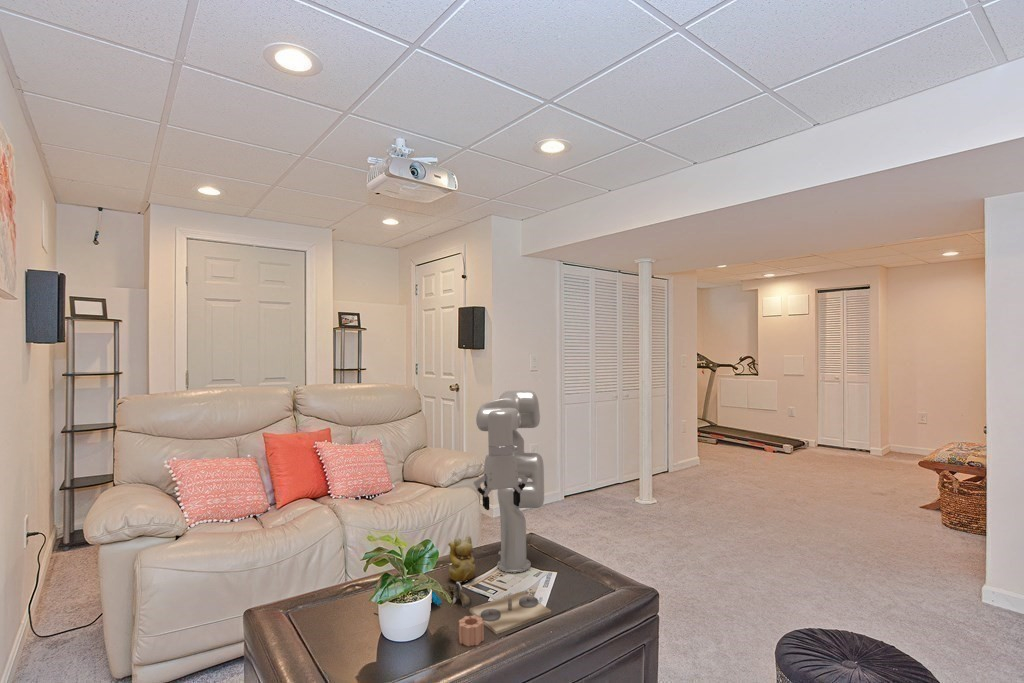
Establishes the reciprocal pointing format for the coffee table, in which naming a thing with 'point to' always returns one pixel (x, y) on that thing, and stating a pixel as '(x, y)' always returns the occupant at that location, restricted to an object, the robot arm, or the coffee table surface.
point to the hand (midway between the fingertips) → (501, 507)
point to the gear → (436, 599)
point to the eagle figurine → (459, 595)
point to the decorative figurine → (461, 559)
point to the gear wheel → (471, 630)
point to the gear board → (510, 612)
